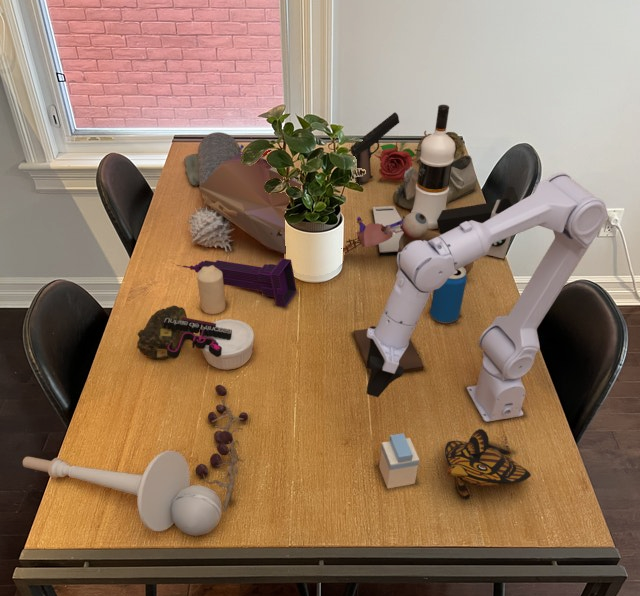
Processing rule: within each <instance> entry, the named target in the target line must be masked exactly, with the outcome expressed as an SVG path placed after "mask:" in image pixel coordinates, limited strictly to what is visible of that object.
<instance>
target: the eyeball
mask: <svg viewBox="0 0 640 596" xmlns="http://www.w3.org/2000/svg"><path fill="white" fill-rule="evenodd" d="M404 216H405V218H404V219H403V218H402V219H403V222H402V230H403V232H404V234H405V235H406V236H407V237H409V238H411V239H417V238H420V237H422V236H423V235H424V234H425V233H426V231H427V229H428V221H427V219H426V217H425V216H424V215H423V214H422V213H419V212H411V211H410V212H409V213H408V214H405V215H404Z"/></svg>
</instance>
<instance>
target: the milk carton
mask: <svg viewBox="0 0 640 596" xmlns="http://www.w3.org/2000/svg"><path fill="white" fill-rule="evenodd" d="M379 456H380V457H379V466H378V468H379V470H380V473H381V476H382V478H383V482H384V484H385V486H386V489H393V488H398V487H399V488H400V487H405V486H409V485H414V484H416V479H417V474H418V468H419V464H420V458H419V456H418V453H417V451H416V448H415V446H414V444H413V441H412V439H411V438H410V437H406V436H405V433H404V432H401V433H396V434H390V435H389V440H388V441H383V442H381V447H380V455H379Z"/></svg>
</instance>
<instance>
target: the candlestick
mask: <svg viewBox="0 0 640 596" xmlns="http://www.w3.org/2000/svg"><path fill="white" fill-rule="evenodd" d="M22 466H23V468H26V469H32V470H35V471H39V472H45V473H48V475H49V477H50V478H51V479H54V480H55V479H58V478H64V477H66V476H69V478H71V479H76V480H80V481H84V482H86V483H91V484H94V485H97V486H101V487H105V488H109V489H112V490H115V491H119V492H122V493H126V494H130V495H134V496H137V500H136V501H137V511H138V516H139V518H140V520H141V523H142V524H143V525H144V526H145V527H146V528H147V529H149V530H150V531H152V532H153V531H154V532H163V531H166V530H168V529H169V528H171V527H172V526H173V525H175V523H174V521H173V519H172V514H171V508H172V503H173V501H174V499H175V497H176V495H177V494H178V493H179V492H180V491H181V490H183V489H185V488H186V487H189V486H191V473H190V467H189V464H188V462H187V460H186V457H184V456H183V454H182V453H181V452H179V451H176V450H165V451H162V452H160V453H158V454H157V455H156V456H155V457H154V458H153V459H152V460H151V461H150V462H149V463H148V464H147V466H146V468H145V470H144V471H143V474H135V473H129V472H121V471H114V470H108V469H101V468H100V469H99V468H93V467H86V466H85V467H84V466H79V465H78V466H77V465H70V464H69V463H68V462H66V461H64V460H63V459H62V458H60V457H54V458H53V459H52V460H47V459H43V458H38V457H33V456H25V457H24V458H23V459H22Z"/></svg>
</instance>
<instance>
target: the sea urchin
mask: <svg viewBox="0 0 640 596" xmlns="http://www.w3.org/2000/svg"><path fill="white" fill-rule="evenodd" d="M199 208H200V210H198V208H196V207H195V208H194V210H195V213H194V214H193V213H190V216H189V218H190V219H189V221H186V223H187V224H190V225H189V227H190V231H189V233H190V234H189V235H190V236H191V238H192V240H191V243H193V244H194V245H197V246H198V245H200V246H202V247H204V249H205V248H208V247H209V248H212V247H214V248H216V249H218V247H220V248H221V249H224V250H225V251H224V252H226V253H228V249H229V251H230V252H232V250H233V249H232V246H231V244H230V243H232V242H234V241H236V239H230V238H232V237H233V236H235V235H236V233H235V234H233V235H232V232H233V231H235V230H236V228H231V226H233V224H234V223H232V222H231V221H229V220H228V219H227V218H225V217H224V216H222V215H221V214H220V213H218V212H217V211H215V210H214V209H212V208H211V207H210V209H208V205H205V207H201V205H200V206H199ZM230 228H231V229H230ZM227 247H228V248H227Z"/></svg>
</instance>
